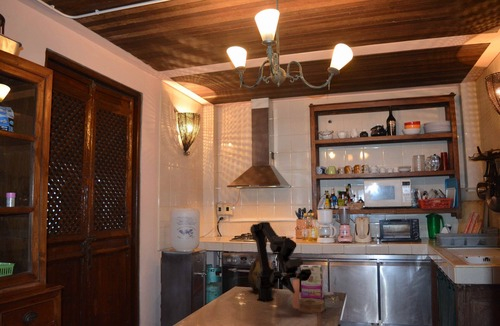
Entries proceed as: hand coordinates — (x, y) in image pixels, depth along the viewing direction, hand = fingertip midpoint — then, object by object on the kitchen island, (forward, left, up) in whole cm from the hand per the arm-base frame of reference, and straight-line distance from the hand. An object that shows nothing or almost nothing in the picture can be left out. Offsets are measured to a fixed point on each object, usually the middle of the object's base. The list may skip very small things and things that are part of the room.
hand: (297, 292), depth 171 cm
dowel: (-1, +1, -7) cm, 7 cm away
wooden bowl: (0, +15, -10) cm, 18 cm away
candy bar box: (-8, +37, -11) cm, 39 cm away
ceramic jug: (-37, +36, -11) cm, 53 cm away
